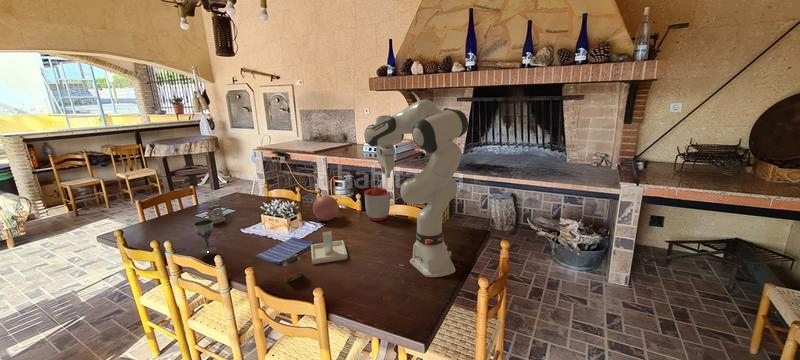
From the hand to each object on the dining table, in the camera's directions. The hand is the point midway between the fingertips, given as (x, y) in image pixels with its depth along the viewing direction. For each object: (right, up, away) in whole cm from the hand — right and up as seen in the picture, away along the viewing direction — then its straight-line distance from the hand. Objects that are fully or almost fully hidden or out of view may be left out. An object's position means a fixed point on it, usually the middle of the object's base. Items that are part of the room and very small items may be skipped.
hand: (385, 175), depth 170 cm
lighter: (-38, -44, -28) cm, 64 cm away
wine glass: (-90, -38, -1) cm, 97 cm away
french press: (-107, -28, +40) cm, 117 cm away
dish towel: (-49, -38, -4) cm, 63 cm away
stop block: (-27, -37, -8) cm, 47 cm away
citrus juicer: (-6, -26, +37) cm, 46 cm away
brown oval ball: (-37, -27, +38) cm, 59 cm away
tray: (-27, -38, -8) cm, 48 cm away
